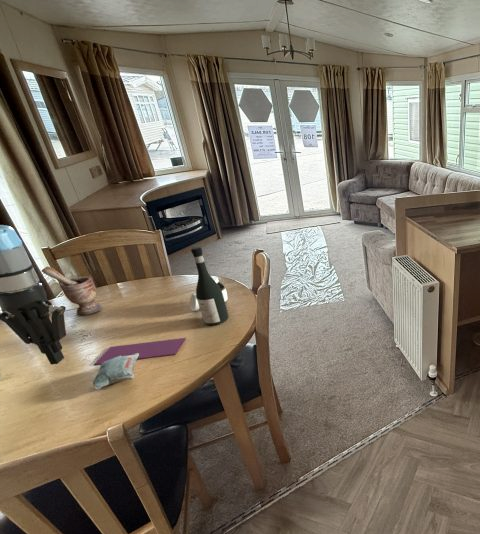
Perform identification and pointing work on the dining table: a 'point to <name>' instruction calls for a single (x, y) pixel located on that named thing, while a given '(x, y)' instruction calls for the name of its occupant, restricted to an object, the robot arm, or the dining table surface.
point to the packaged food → (115, 370)
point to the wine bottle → (208, 293)
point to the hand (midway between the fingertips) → (57, 360)
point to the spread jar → (193, 299)
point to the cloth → (143, 350)
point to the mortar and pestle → (77, 291)
